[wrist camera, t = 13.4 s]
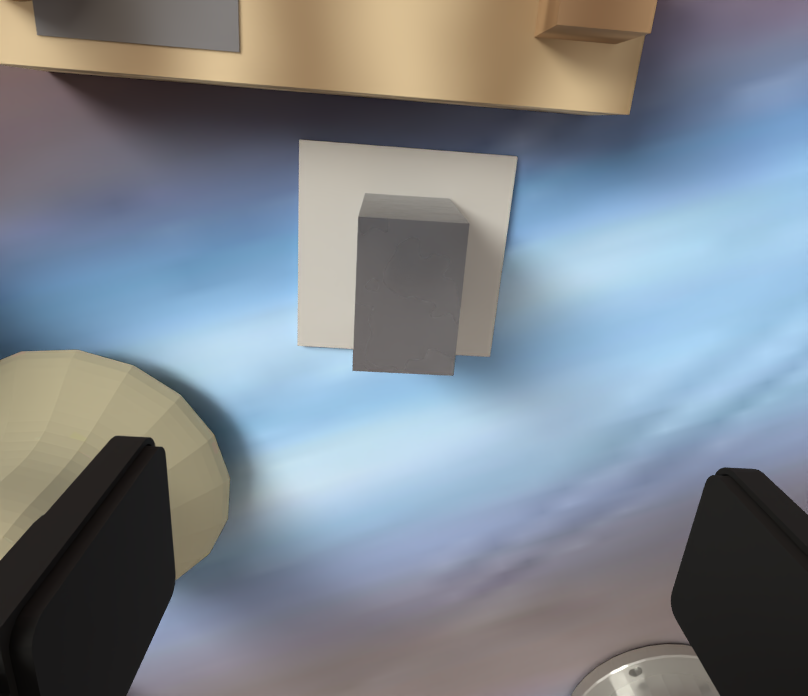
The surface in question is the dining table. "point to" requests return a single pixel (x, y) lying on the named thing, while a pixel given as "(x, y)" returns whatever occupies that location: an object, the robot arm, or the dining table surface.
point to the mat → (408, 176)
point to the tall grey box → (408, 284)
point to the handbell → (102, 442)
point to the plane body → (350, 47)
